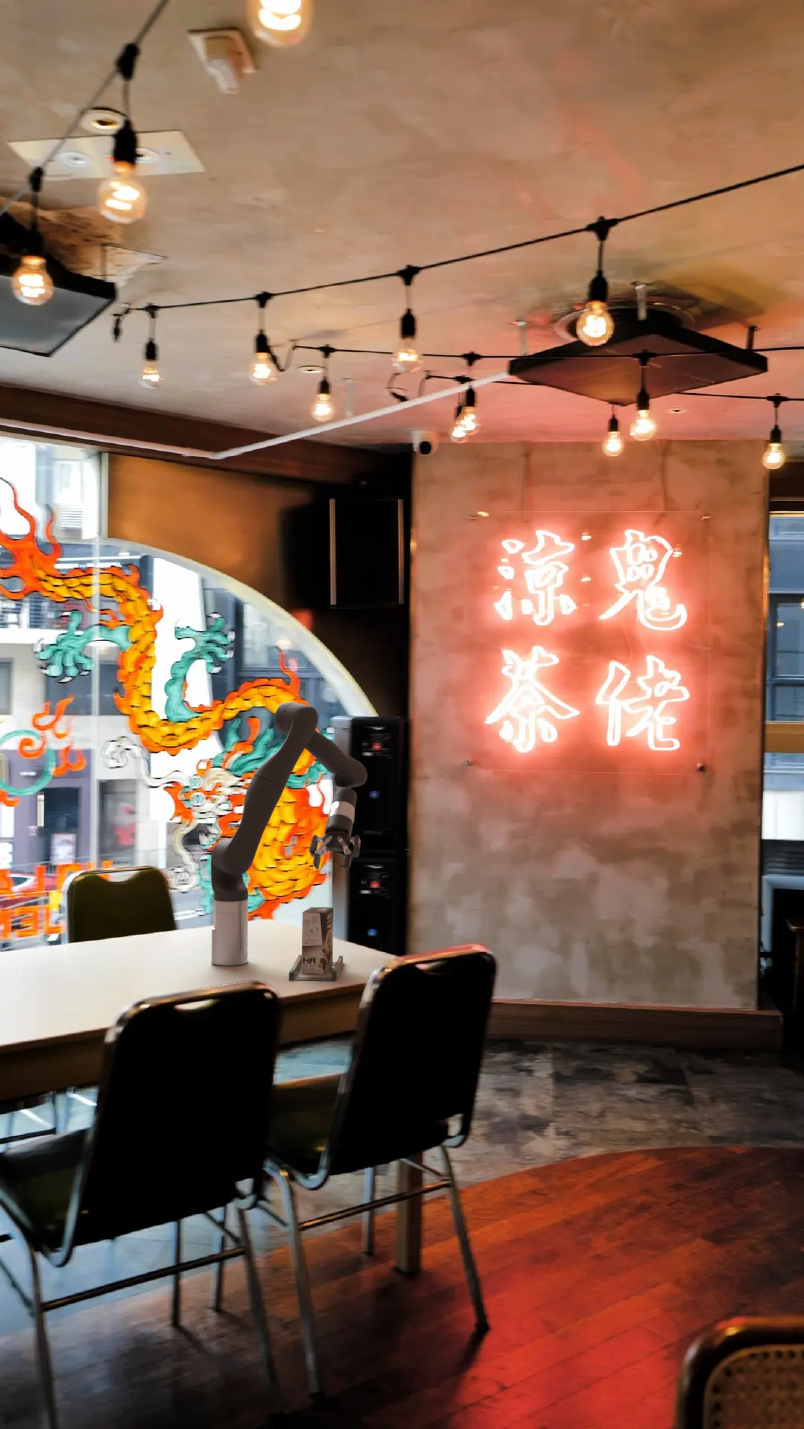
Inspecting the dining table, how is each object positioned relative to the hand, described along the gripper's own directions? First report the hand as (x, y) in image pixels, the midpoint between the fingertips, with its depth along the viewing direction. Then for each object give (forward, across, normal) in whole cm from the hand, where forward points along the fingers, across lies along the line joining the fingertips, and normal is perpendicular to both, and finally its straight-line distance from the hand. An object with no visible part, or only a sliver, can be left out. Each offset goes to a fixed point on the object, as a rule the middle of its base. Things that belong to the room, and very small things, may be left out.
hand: (331, 867), depth 318 cm
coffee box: (+31, +1, +2) cm, 31 cm away
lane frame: (+32, +2, 0) cm, 32 cm away
